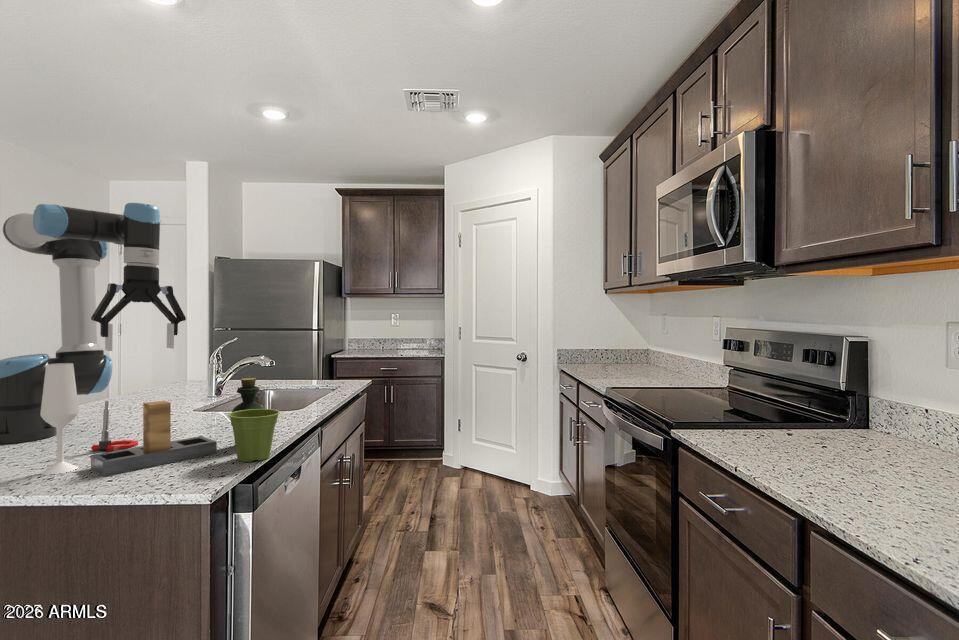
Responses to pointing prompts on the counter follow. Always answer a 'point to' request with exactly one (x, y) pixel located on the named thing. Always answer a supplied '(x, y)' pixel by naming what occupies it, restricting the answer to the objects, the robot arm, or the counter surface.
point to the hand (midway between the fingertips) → (140, 349)
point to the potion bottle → (248, 395)
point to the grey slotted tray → (151, 456)
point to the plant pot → (253, 432)
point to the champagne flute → (59, 407)
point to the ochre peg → (156, 426)
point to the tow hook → (105, 442)
